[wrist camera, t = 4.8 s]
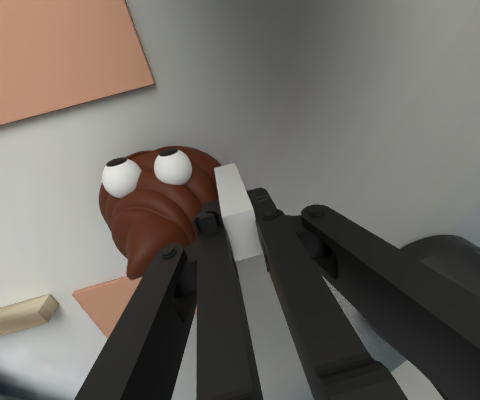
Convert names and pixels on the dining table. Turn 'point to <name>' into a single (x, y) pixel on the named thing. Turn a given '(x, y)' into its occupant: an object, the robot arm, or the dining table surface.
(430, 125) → the dining table surface
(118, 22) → the pads
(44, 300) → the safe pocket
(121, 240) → the poop emoji
